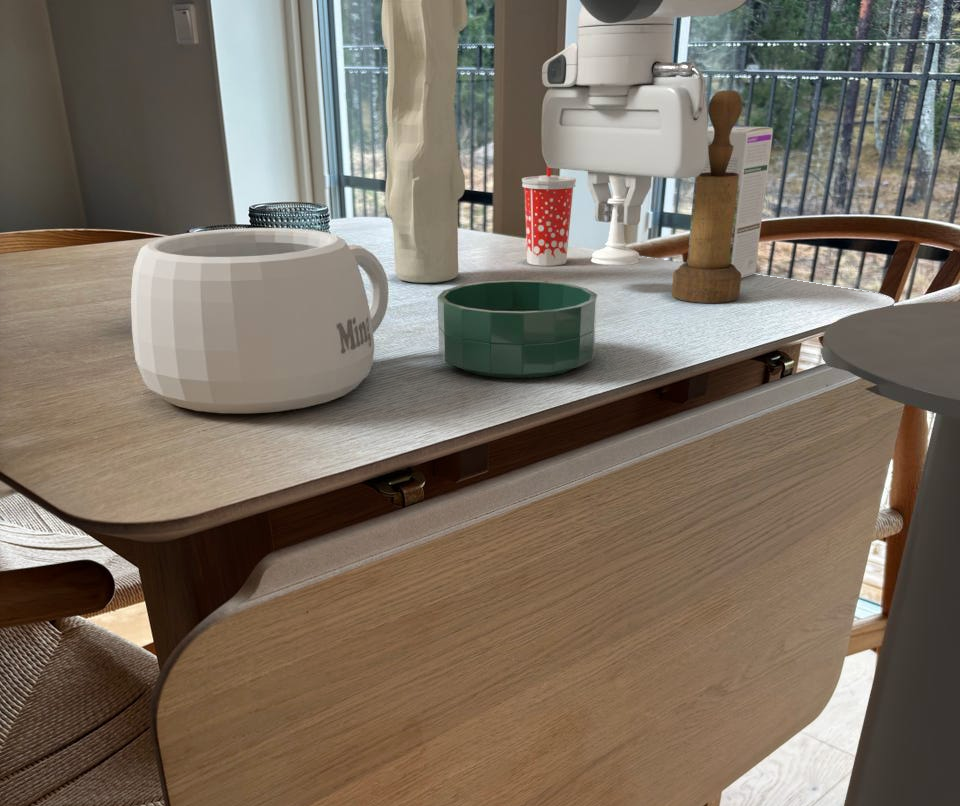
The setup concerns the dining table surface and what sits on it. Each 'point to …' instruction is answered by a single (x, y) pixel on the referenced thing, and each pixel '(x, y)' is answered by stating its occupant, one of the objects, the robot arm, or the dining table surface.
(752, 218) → the syrup box
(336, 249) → the mug
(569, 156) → the robot arm
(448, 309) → the green round bowl
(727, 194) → the mortar and pestle
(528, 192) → the beverage cup
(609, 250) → the chess piece
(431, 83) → the vase
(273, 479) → the dining table surface
